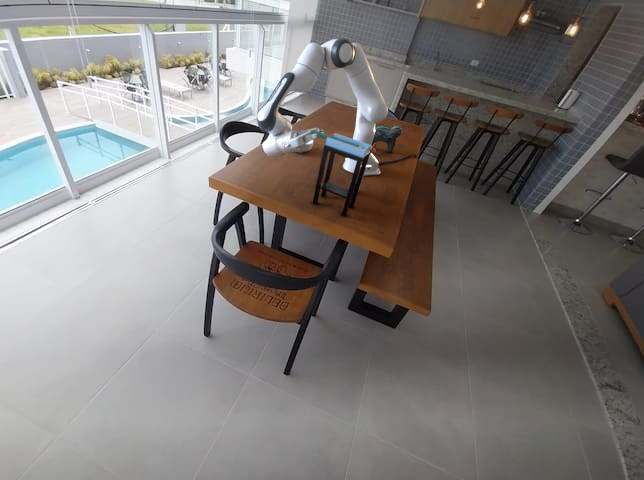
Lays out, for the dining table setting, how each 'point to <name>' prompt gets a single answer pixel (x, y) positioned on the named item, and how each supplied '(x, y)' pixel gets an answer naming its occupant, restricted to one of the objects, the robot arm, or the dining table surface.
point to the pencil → (324, 136)
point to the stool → (336, 188)
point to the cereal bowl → (306, 147)
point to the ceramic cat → (387, 135)
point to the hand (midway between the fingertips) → (319, 133)
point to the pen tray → (348, 147)
